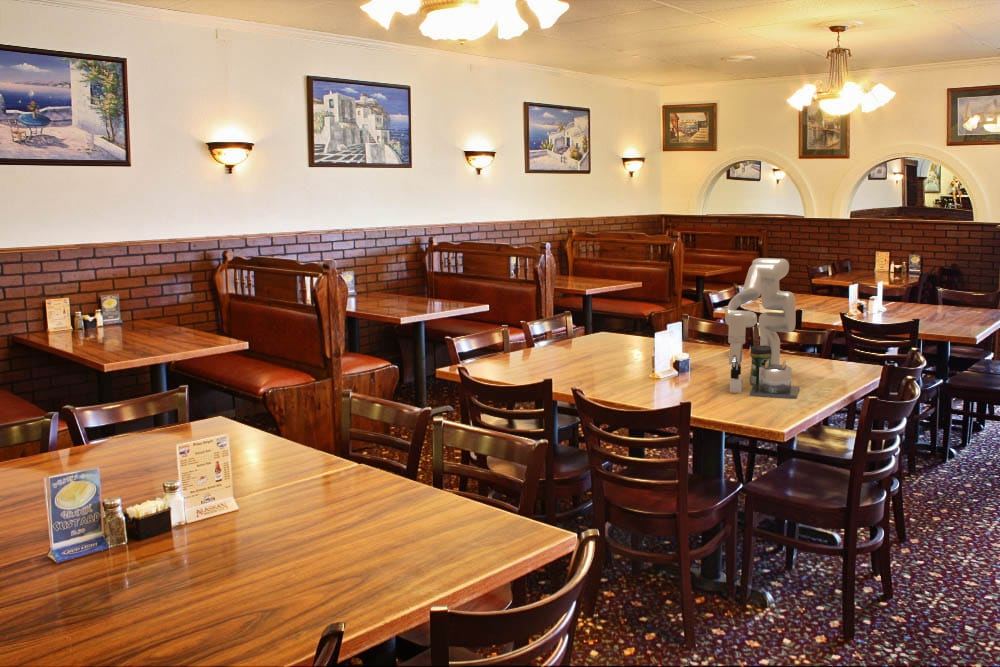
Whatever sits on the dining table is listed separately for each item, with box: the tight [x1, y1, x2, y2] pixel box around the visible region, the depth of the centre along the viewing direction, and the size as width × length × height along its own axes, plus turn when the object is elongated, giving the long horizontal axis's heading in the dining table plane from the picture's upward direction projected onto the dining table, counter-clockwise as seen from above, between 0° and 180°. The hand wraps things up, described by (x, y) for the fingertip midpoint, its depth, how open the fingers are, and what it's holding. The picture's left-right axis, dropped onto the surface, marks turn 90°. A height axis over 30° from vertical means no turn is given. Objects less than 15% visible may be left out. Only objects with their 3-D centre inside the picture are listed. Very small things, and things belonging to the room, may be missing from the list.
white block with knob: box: [729, 375, 743, 394], centre depth 405 cm, size 5×5×8 cm
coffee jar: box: [749, 345, 772, 386], centre depth 418 cm, size 10×8×19 cm
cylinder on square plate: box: [749, 360, 800, 400], centre depth 400 cm, size 20×20×14 cm
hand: (735, 376), depth 404 cm, fingers open, 9 cm apart
